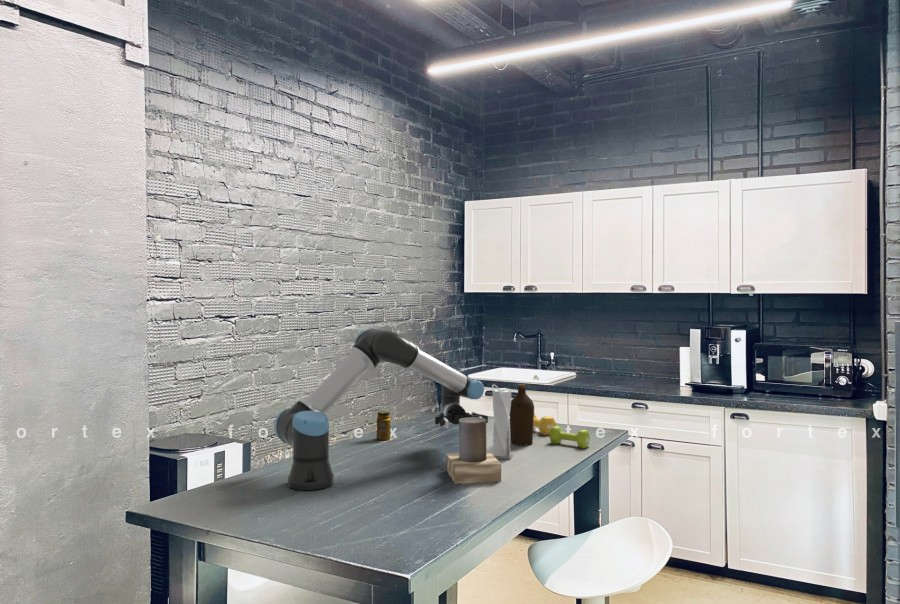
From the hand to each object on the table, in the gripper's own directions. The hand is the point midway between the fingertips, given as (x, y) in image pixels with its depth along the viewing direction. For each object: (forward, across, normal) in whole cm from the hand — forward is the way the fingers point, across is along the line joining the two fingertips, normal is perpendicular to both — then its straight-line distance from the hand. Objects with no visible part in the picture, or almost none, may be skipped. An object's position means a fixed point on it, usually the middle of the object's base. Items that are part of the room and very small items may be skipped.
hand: (465, 424), depth 231 cm
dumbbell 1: (-55, -45, -16) cm, 73 cm away
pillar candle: (+10, 0, -10) cm, 14 cm away
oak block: (+10, -1, -16) cm, 19 cm away
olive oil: (-34, -31, -16) cm, 49 cm away
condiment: (-50, +27, -16) cm, 59 cm away
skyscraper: (-14, -17, -16) cm, 28 cm away
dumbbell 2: (-27, -50, -16) cm, 60 cm away
